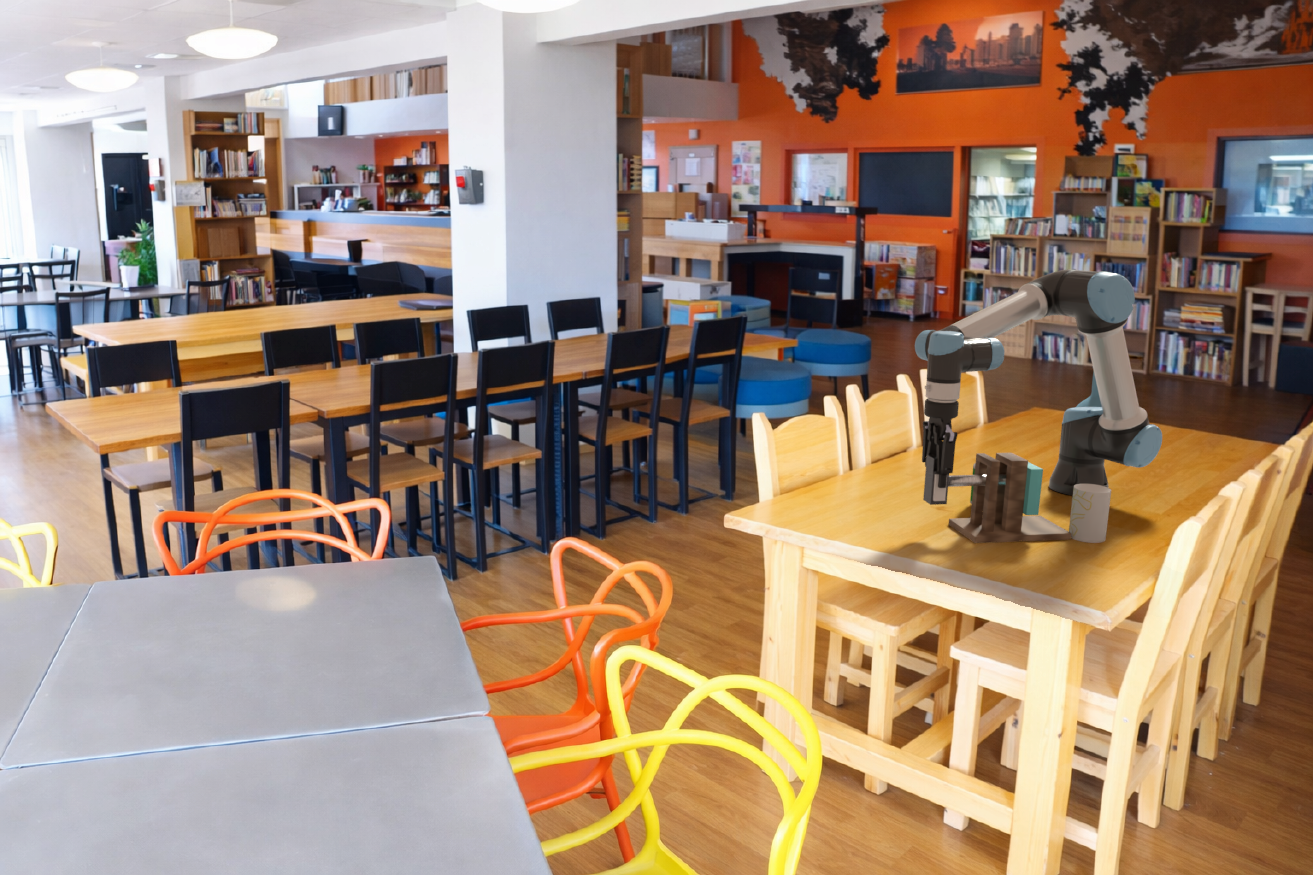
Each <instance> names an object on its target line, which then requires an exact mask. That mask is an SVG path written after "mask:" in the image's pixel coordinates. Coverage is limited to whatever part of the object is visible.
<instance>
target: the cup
mask: <svg viewBox="0 0 1313 875" xmlns="http://www.w3.org/2000/svg"><path fill="white" fill-rule="evenodd" d="M1111 495H1112V489H1111V488H1110V487H1109V486H1108V487H1105V486H1101V485H1095V484H1076V485H1074V489H1073V495H1072V497H1071V498H1072V499H1071V509H1070V519H1069V526H1068V532H1070V533H1071V540H1075V541H1078V542H1083V543H1090V544H1091V543H1092V544H1098V543H1104V542H1105V541H1106V537H1107V529H1108V522H1109V521H1108V520H1109V514H1110V513H1109V512H1110V505H1111V503H1110V502H1111Z"/></svg>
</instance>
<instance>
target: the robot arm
mask: <svg viewBox="0 0 1313 875" xmlns="http://www.w3.org/2000/svg"><path fill="white" fill-rule="evenodd" d="M1135 300H1136V297H1135V291H1134V288H1133V286H1132V283H1131V282H1130V281H1129V279H1127V278H1126V277H1125V276H1123V275H1122V274H1119V273H1113V272H1110V271H1092V270H1084V269H1083V270H1082V269H1073V268H1070V269H1061V270H1058V271H1053V272H1051V273H1048V274H1045V275H1043V276H1040V277H1037V278H1035V279H1033V280H1031V281H1029V282H1027V283H1025V284H1023V285H1021V286H1020V287H1019V289H1018V290H1017V292H1015V293H1013V294H1012V295H1010V296H1007V297H1005V298H1003V299H1001V300H999V301H997V302H994V303H992V304H991V305H989V306H987V307H985V308H983V309H981V310H979V311H976V312H975V313H972V314H971V315H969V316H966V317H964V318H962V319H960V320H959V321H956V322H955V323H952V324H950V325H948V326H946V327H944V328H942V329H940V330H935V329H927V330H926V329H925V330H923V331H921V332H920V333H919V334H918V335H917V337H916V338H915V342H914V351H915V354H916V356H917V357H918V358H919V359H921V360H924V361H927V364H926V365H927V368H926V383H925V384H926V385H924V389H925V397H926V399H925V400H924V410H923V412H924V413H923V414H924V416H926V417H928V420H924V421H922V427H923V432H922V434H923V436H922V453H921V462H922V463H924V466H925V468H926V460H927V455H931V454H937V472H934V474H935V478H934V491H933V501H945V496H946V483H947V474H949V475H950V474H953V472H954V462H955V453H956V442H957V438H958V432H956V431H953V430H952V429H953V428H952V427H953V426H952V420H953V419H956V418H957V417H958V416H959V405H960V404H959V401H958V400H959V399H960V396H961V395H960V392H961V380H962V379H961V378H962V373H970V372H981V371H982V372H988V371H991V370H995V369H998V368H999V367H1001V365H1002V364H1003V362H1004V359H1005V348H1004V346H1003V343H1002V342H1001V340H999V339H998V338H996V337H997V336H1000V335H1003V334H1004V333H1005V332H1008V331H1010V330H1013V329H1014V328H1016V327H1018V326H1021V325H1022V324H1024V323H1026V322H1028V321H1030V320H1034V321H1038V320H1041V319H1043V318H1045V317H1050V316H1063V317H1070V318H1075V323H1076V327H1077V330H1078V332H1079V333H1081V334H1083V335H1085V338H1086V342H1087V346H1088V350H1089V354H1090V360H1091V364H1092V365H1091V366H1093V367H1092V369H1093V372H1094V374H1095V378H1096V383H1097V387H1098V392H1099V396H1100V401H1101V405H1102V407H1076V406H1075V407H1070V408H1069V407H1068V408H1067V409H1066V410H1065V411H1064V413H1063V418H1062V422H1061V430H1060V431H1061V433H1060V440H1059V441H1060V442H1059V451H1058V452H1059V454H1058V460H1057V463H1056V465H1055V467H1054V469H1053V471H1052V472H1051V476H1050V477H1049V481H1048V482H1049V483H1048V487H1049V489H1050V490H1052V491H1054V492H1057V493H1061V494H1064V495H1068V496H1073V489H1074V485H1076V484H1095V485H1101V486H1105V487H1108V488H1109V482H1108V477H1107V474H1106V473H1107V472H1106V468H1105V460H1106V461H1110V462H1113V463H1117V464H1120V465H1124V466H1125V467H1132V468H1144V467H1147V466H1149V465H1150V464H1151V463H1152V462H1153V461H1154V459H1155V458H1156V457H1157V455H1158V454H1159V452H1160V450H1161V448H1162V447H1161V446H1162V443H1163V433H1162V430H1161V428H1160V427H1159V426H1157V425H1156V424H1153V423H1152V424H1151V423H1150V420H1149V417H1148V416H1149V415H1148V412H1147V410H1145V408H1142V407H1141V406H1140V405H1139V398H1138V395H1137V391H1136V385H1135V381H1134V376H1133V371H1132V367H1131V361H1130V356H1129V351H1128V345H1127V341H1126V336H1125V332H1124V326H1125V325H1126V324H1127V323H1128V321H1129V317H1130V316H1131V315H1132V313H1133V310H1134V306H1133V305H1134V304H1135Z"/></svg>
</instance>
